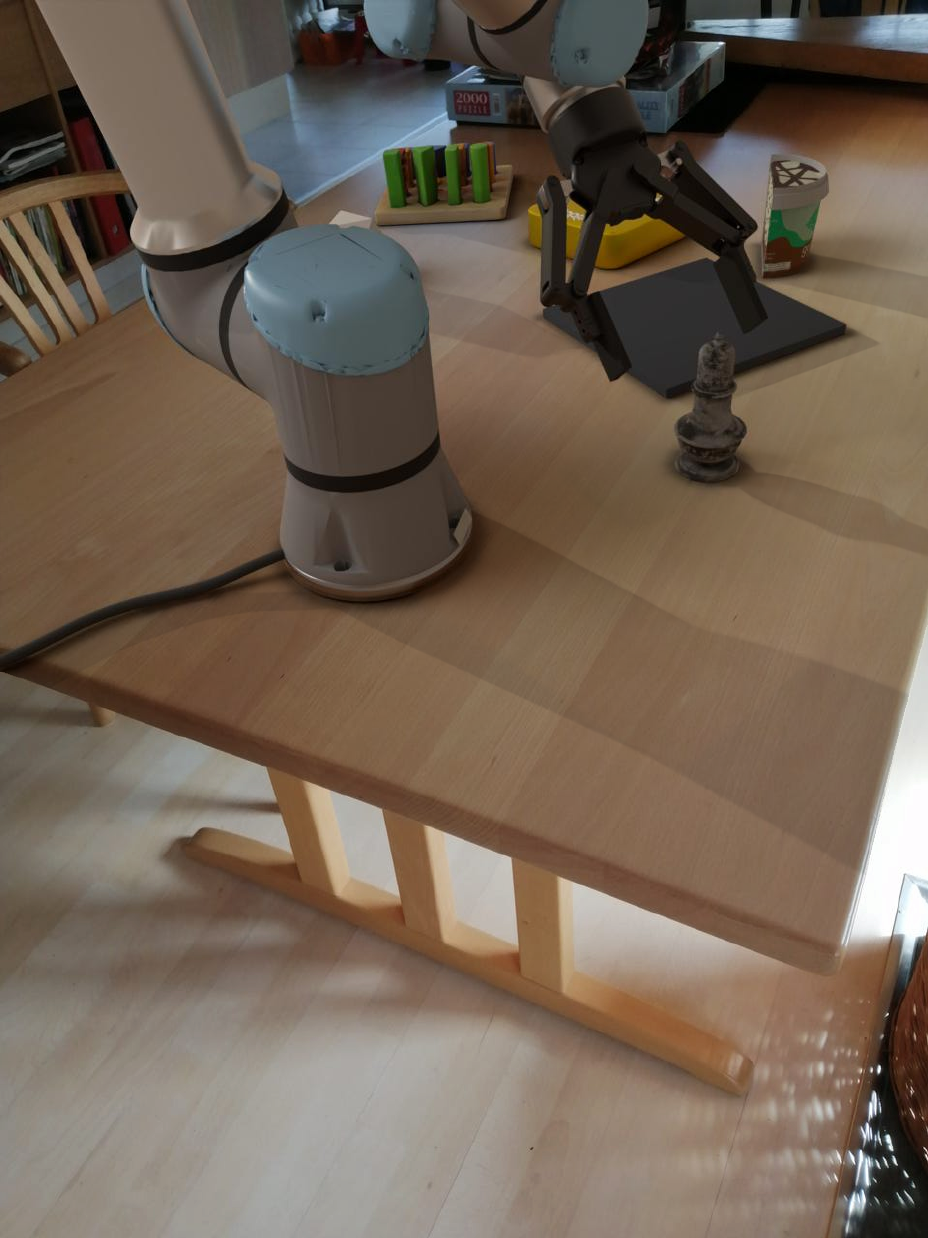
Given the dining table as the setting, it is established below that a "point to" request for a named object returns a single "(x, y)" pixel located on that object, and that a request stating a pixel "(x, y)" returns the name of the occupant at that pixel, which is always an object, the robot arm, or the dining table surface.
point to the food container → (791, 212)
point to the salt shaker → (711, 418)
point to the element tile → (611, 236)
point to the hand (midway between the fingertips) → (690, 350)
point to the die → (354, 221)
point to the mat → (697, 325)
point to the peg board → (443, 184)
